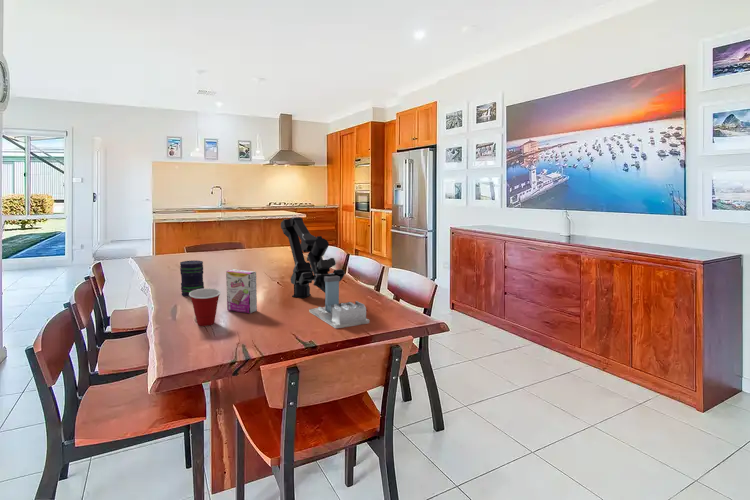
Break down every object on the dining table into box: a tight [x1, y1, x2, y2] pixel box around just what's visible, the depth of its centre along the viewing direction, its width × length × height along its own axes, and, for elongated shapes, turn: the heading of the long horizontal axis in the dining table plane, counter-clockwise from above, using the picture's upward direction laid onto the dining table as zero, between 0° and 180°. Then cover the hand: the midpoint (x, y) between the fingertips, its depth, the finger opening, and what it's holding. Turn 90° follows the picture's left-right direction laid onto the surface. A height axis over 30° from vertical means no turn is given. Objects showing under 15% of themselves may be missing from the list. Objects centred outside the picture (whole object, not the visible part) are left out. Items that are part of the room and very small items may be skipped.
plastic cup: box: [189, 287, 222, 327], centre depth 158 cm, size 11×11×12 cm
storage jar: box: [179, 260, 205, 298], centre depth 201 cm, size 10×10×15 cm
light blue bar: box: [324, 275, 341, 312], centre depth 171 cm, size 8×6×14 cm
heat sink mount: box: [308, 300, 370, 329], centre depth 169 cm, size 24×14×7 cm, turn 32°
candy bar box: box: [225, 268, 258, 314], centre depth 175 cm, size 11×5×16 cm, turn 71°
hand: (328, 294), depth 176 cm, fingers closed
